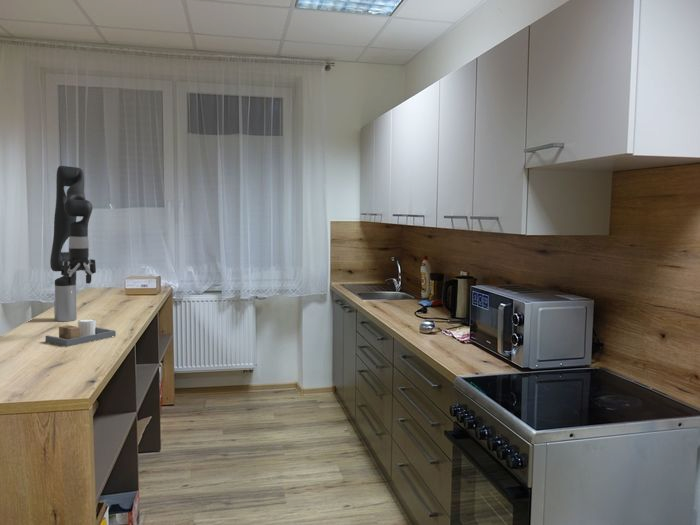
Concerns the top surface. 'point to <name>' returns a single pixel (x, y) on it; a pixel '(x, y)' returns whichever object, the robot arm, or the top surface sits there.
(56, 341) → the grey u-shaped bracket
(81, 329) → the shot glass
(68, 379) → the top surface
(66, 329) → the block
